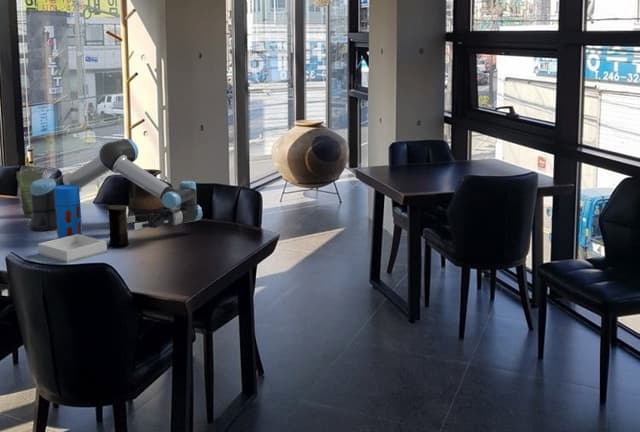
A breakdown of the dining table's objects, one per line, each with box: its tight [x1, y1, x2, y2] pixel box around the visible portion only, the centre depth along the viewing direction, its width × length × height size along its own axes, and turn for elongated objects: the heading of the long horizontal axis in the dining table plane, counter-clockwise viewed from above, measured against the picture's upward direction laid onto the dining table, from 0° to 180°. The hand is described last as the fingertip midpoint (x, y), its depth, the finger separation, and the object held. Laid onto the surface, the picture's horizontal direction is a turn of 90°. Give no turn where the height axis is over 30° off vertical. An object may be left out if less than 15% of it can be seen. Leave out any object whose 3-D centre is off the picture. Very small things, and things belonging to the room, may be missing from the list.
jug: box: [127, 168, 166, 223], centre depth 369 cm, size 21×18×30 cm
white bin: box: [37, 234, 108, 264], centre depth 319 cm, size 20×20×5 cm
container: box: [107, 204, 130, 249], centre depth 330 cm, size 9×9×18 cm
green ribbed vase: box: [15, 167, 45, 218], centre depth 385 cm, size 11×12×25 cm
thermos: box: [54, 185, 83, 239], centre depth 339 cm, size 11×11×25 cm
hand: (128, 223), depth 332 cm, fingers open, 13 cm apart
